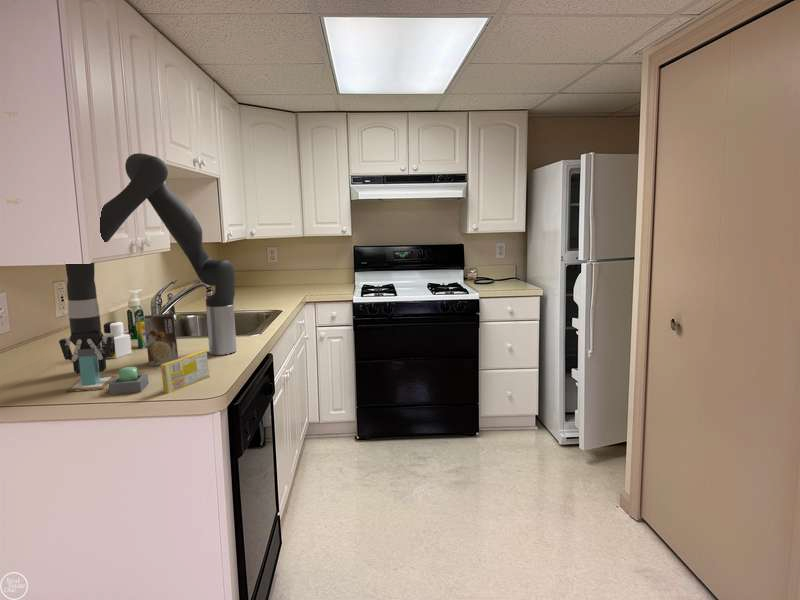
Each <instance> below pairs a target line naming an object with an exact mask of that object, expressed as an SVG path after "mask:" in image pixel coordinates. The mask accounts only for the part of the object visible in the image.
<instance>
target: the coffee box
mask: <svg viewBox="0 0 800 600" xmlns="http://www.w3.org/2000/svg"><path fill="white" fill-rule="evenodd" d="M144 316H145V317H144V318H143V320H144V323H145V332H146V342H147V348H146V350H147V359H148V366H149V367H153V366H155V367H156V366H161V364H164V363H167V362H170V361H173V360H176V359H179V354H178V353H179V350H178V342H177V333H176V323H175V314H174V313H163V314H161V313H160V314H149V315H144Z"/></svg>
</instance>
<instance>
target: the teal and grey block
mask: <svg viewBox="0 0 800 600" xmlns="http://www.w3.org/2000/svg"><path fill="white" fill-rule="evenodd" d="M77 352H78V357H79V365H80V374H79V375H80V379H81V383H82V385H94V384H97V383H98V382H99V381H100V376H101V375H100V372H99V367H98V358H97V355H96V354H95V353H94V350H93V348H82V349H78V350H77Z"/></svg>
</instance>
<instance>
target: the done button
mask: <svg viewBox="0 0 800 600" xmlns="http://www.w3.org/2000/svg"><path fill="white" fill-rule="evenodd" d="M138 374H139V373H138V368H137V367H136V366H127V367H126V366H125V367H122V368H119V369H118V376H119V380H120V382H127V381H137V380H138Z"/></svg>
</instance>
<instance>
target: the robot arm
mask: <svg viewBox="0 0 800 600" xmlns="http://www.w3.org/2000/svg"><path fill="white" fill-rule="evenodd" d="M124 165H125V169H124V170H125V172H126V175H127V177H128V178H129V179H130V182H128V184H127V185H126V186H125V188H124V189H123V190H121V192H119V193H118V194H117V195H115V196H114V197H113V198H112V199H110V200H108V201H107V202H106V203H105V204H103V205H104V206H103V205H102V206H103V208H102V211H101V217H100V233H101V237H102V239H103V240H104V242H107V243H108V242H109V241H110V240H111V239H112V238H113V237H114V235H115V234H116V232H118V230H119V229H120V228H121V226H122V225H123V224H124V222H126V220H127V219H128V218H129V217H130V216H131V214H133V212H134V211H135V210H136V209H137V208H138V207H140V205H142V203H144V201H146V199H147V201H148V202H149V204H150V205H151V206H152V208H153V210H154V211H155V212H156V214H157V216H158V217H159V218H160V220H161V222H162V223H163V224H164V226H165V227H166V230H167V231H168V233H169V234H170V235H171V237H173V239H174V240H175V241H176V242H177V244H178V246H179V248H180V249H181V250H182V251H183V253H184V254H185V256H186V257H187V259H188V260H189V262H190V264H191V266H192V268H193V269H194V272H195V274H196V275H197V277H198V278H199V280H200V281H201V282H202V283H203V284H204V285H206V286H210V287H211V286H212V287H215V289H214V293H213V294H211V295H209V296H207V297H206V298H205V308H206V321H207V322H206V323H207V334H208V335H207V336H208V350H209V354H210V355H212V356H223V355H224V356H225V354H227V355H231V354H230V353H232V354H234V353H236V352H237V351H236V350H237V336H236V323H235V322H236V321H235V307H234V306H235V305H234V299H235V296H236V295H235V294H236V288H235V287H236V279H235V278H236V276H235V268H234V266H233V264H232V263H231V261H229V260H227V259H212V258H211V257H210V256H209V255H208V253H207V251H206V250H205V249H204V248H205V247H204V246H203V229H202V227H201V224H200V222H199V221H198V219H197V218H196V216H195V215H194V213H193V212H192V211H191V209H190V208H189V207H188V206H187V205H186V204H185V203H184V202H183V201H182V200H181V199H180V198H179V197H178V196H176V195H175V194H174V192H172V191H171V190H170V188H169V187H168V186H167V184H166V183H165V182H166V180H167V178H168V176H169V169H168V166H167V164H166V162H165V161H164V160H162V158H159V157H157V156H154V155H151V154H147V153H141V152H140V153H132V154H131V155H129V156H128V157H127V159H126V160H125V164H124ZM64 264H65V263H64ZM95 269H96V268H95V262H94V263H91V264H65V271H66V277H67V282H66V293H67V303H68V304H67V311H68V312H67V314H68V318H69V319H68V321H69V328H70V329H69V331H70V336H69V337H64V338H61V339H60V340H59V341H58V343H59V346H60V349H61V352H62V354H63V357H64V359H65V360H66V361H67V360H69V361H72V366H73V371H74V373H76V374H77V375H81V374H80V365H79V357H78V352H77V350H78V349H82V348H93V350H94V353H95V354H96V355H97V357H98V358H99V360H98V364H99V373H104V372H105V370H106V369H107V360H106V359H107V358H106V357H109V356H110V355H112V351H113V343H114V336H113V335H111V336H106V335H104V334H103V332H102V326H101V325H102V323H101V316H100V315H101V314H100V306H99V303H98V297H97V296H98V295H97V287H96V286H97V285H96V282H95V281H96V280H95ZM102 339H103V340H104V342H105V343H106V350H105V353H104V351H103V348H102V347H101V345H100V342H101V341H102ZM71 343H72V344H73V345H74V346H75V347H74V350H73V353H72V349H71V347H70V345H71ZM98 346H99V347H98ZM235 351H236V352H235ZM233 352H234V353H233Z"/></svg>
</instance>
